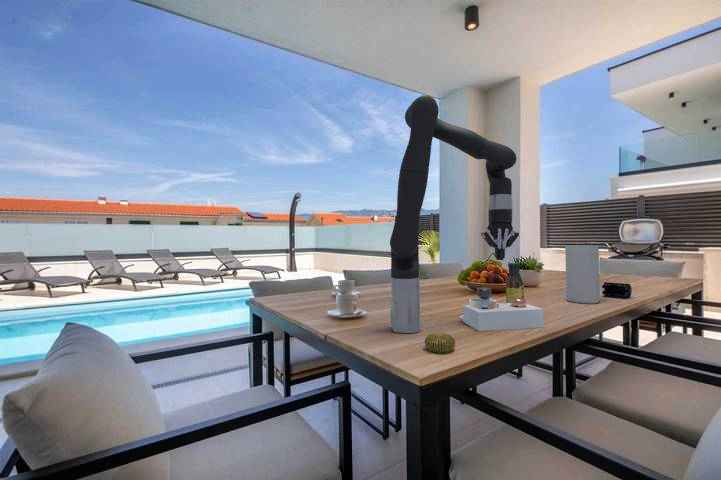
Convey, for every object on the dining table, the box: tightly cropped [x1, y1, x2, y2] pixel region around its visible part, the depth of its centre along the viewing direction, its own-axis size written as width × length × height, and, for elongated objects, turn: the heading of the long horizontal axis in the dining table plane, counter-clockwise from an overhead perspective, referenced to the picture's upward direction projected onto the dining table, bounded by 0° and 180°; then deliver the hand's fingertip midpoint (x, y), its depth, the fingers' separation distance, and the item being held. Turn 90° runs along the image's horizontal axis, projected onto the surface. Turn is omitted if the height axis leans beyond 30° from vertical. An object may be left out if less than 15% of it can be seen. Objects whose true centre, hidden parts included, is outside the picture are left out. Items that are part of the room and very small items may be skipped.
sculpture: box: [424, 332, 456, 354], centre depth 91 cm, size 8×4×8 cm
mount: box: [462, 302, 545, 332], centre depth 115 cm, size 22×12×6 cm, turn 96°
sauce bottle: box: [505, 262, 525, 303], centre depth 128 cm, size 7×6×20 cm
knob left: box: [476, 287, 493, 309], centre depth 114 cm, size 5×5×8 cm
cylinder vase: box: [564, 244, 601, 305], centre depth 152 cm, size 12×12×25 cm
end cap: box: [601, 281, 633, 300], centre depth 160 cm, size 10×7×7 cm
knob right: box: [511, 297, 527, 308], centre depth 116 cm, size 5×5×8 cm
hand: (499, 259), depth 115 cm, fingers closed
